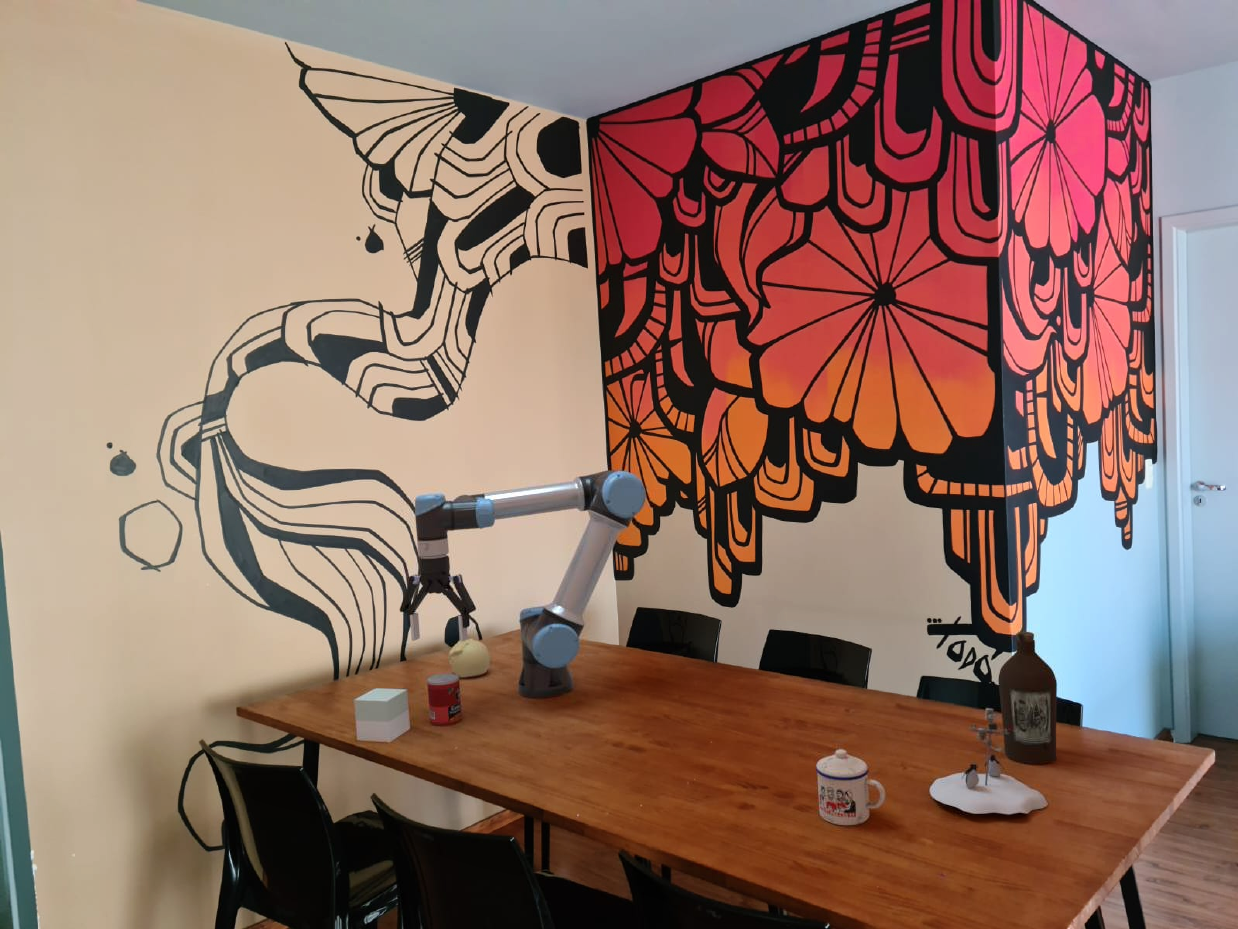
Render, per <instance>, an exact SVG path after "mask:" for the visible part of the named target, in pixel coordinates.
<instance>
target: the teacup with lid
mask: <svg viewBox="0 0 1238 929" xmlns="http://www.w3.org/2000/svg"><path fill="white" fill-rule="evenodd" d="M869 770H870V769H869V767H868V765H867V763H866V762H865V761H864V760H862V759H860V758H858V757H855V756H852V755H849V754H848V752H847V750H845V749H837V750H836V751H835V752H834V754H832V755H829V756H826V757H823V758H821V759H819V760H818V761H817V763H816V765H815V771H816V773H817V788H818V790H817V791H818V805H819V806H818V809H819V811H818V812H819V815H820V817H821V818H822V819H823V820H824V821H826V822H829V823H830V824H833V825H838V826H856V825H860V824H863V823H865V822H866V821H867V820H868V819H869V817H870V809H871V810H872V809H878V808H879V807H880V806H881V805H883V803H884V802H885V798H886V791H885V788H884V786H883V785H882V784H881V783H880V782H879V781H878V780H876V779H870V778H868V774H869ZM869 786H873V787H874V788H876V789H877V790H878V792H879V799H878V800H877V802H870V800H869V798H870V797H869Z"/></svg>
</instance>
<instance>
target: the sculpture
mask: <svg viewBox="0 0 1238 929" xmlns="http://www.w3.org/2000/svg"><path fill="white" fill-rule="evenodd" d="M447 657H448V661H449V663H448V664H449V665H450V666H451V670H452V672H453V674H455V675H458V676H459V678H468V677H469V678H470V677H475V676H480V675H483V674H485V673H486V672H487V671H488V670H489V666H490V662H491V656H490V651H489V650H488V647H487V646H486V645H485V644H484V643H483V642H480V641H478V640H475V639H473V638H468V639H467V640H465V641H463V642H460V639H459V640H458V641H457V643H455V644H454V646H453V647H452V648H451V649H450V650H449V652H448V656H447Z"/></svg>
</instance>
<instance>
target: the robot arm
mask: <svg viewBox="0 0 1238 929" xmlns="http://www.w3.org/2000/svg"><path fill="white" fill-rule="evenodd" d="M646 492H647V491H646V488H645V486H644V483H643V482H642V481H641V479H640V478H639V477H638V476H636V475H635V474H633V473H631V472H628V471H625V470H612V469H608V470H603V471H600V472H595V473H592V474H588V475H583V476H576V477H575V478H574V480H572V481H565V482H557V483H550V484H543V485H535V486H529V487H528V486H527V487H523V488H522V487H521V488H514V489H506V490H499V491H492V492H485V493H478V494H477V493H476V494H472V495H471V494H470V495H468V494H462V495H458V496H457V497H456V498H454V499H453V500H447V499H446V495H445V494H443V493H430V494H429V493H428V494H421V495H418V496H416V497H415V499H414V518H415V528H416V530H415V531H416V538H417V539H416V540H417V552H418V554H417V555H418V556H419V559H418V570H419V573H420V574H419V575H418V574H413V575H410V576H408V585H407V587H406V590H405V593H404V596H403V599H402V602H401V605H400V607H399V612H400V613H405V614H406V616H407V618H406V619H407V626H408V628H410V637H411V641H412V642H414V641H417V640H418V639H420V638H421V634H420V620H419V612H417V609H418V608H419V607H420V605H421V604H422V602H423V600H424V599H425V598H426V596H427V595H428V594H430V595H431V594H432V595H433V594H438V595H439V594H442V595H443V596H445V597H446V598H447V599H448V601H449V602H450V603H451V604H452V605H453V606H454V607H455V609H456V610H457V611H458V612H459V615H458V617H457V618H458V632H459V640H460V642H463V641H465V640H467V639H469V636H468V628H469V627H470V614H471V613H473V612H475V611H476V609H477V607H476V604H475V603H474V601H473V599H472V598H471V595H470V594H469V591H468V589H467V587H466V586H465V584H464V580H463V576H462V574H461V573H459V574H456V575H451V573H450V570H451V565H450V564H451V562H450V556H449V555H448V554H449V553H450V550H449V538H448V536H449V535H448V532H450V531H460V530H462V531H463V530H472V529H473V530H476V529H480V530H482V529H486V528H492V527H493V526H494V525H495V522H496V521H495V520H503V519H510V518H511V519H512V518H518V517H526V516H531V515H539V514H545V513H554V512H561V511H567V510H574V509H577V510H578V511H580V512H586V511H587V512H588V516H589V521H588V522H587V526H586V527H585V529H584V531H583V534H582V535H581V538H580V540H579V542H578V545H577V547H576V549H575V552H574V554H573V557H572V558H571V561H570V562H569V564H568V567H567V569H566V572H565V574H564V576H563V578H562V581H561V582H560V584H559V587H558V589H557V592H556V594H555V596H554V598H553V600H552V602H550V603H548V604H546V605H544V606H543V605H542V606H541V605H539V606H534V607H533V606H532V607H527V608H524V609H522V610H521V611H520V613H519V625H520V638H521V640H520V641H521V654H522V667H521V671H520V675H519V679H518V682H517V686H518V687H517V688H518V689H517V690H518V693H519V695H520V696H523V697H525V698H532V699H534V698H536V699H537V698H538V699H540V698H541V699H543V698H545V699H546V698H552V697H557V696H562V695H565V694H566V693H569V692H571V691H572V690H573V689H574V678H573V676H572V673H571V671H570V669H569V666H568V665H569V664H571V663H572V662H573V661H574V660H575V659H576V657H577V656H578V655H579V654H578V653H579V651H580V636H581V634H582V631H583V629H584V627H585V624H586V623H585V621H584V618H583V615H584V613H585V611H586V608H587V606H588V605H589V604H588V603H589V602H590V600H591V597H592V595H593V593H594V590H595V589H596V586H597V584H598V582H599V580H600V577H601V575H602V573H603V571H604V569H605V565H606V564H607V562H608V559H609V558H610V555H611V553H612V550H613V548H614V546H615V544H616V542H617V539H618V537H619V535H620V533H621V532H623V531H626V530H628V529H629V527H630V524H631V522H632V520H633V518H634V517H635V516H636V515H638V514H639V513H640V512H641V510H643V507H644V506H645V503H646V499H647V494H646ZM419 583H420V585H421V587H420V589H419V590H418V593H417V595H416V596H415V597H414V595H415V592H416V591H417V586H418V584H419ZM451 584H453V585H454V588H453V586H452V585H451ZM454 589H455V590H456V591H454ZM456 592H457V593H456ZM413 598H414V599H413Z"/></svg>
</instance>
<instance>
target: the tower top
mask: <svg viewBox="0 0 1238 929" xmlns="http://www.w3.org/2000/svg"><path fill="white" fill-rule="evenodd" d="M408 699H409V698H408V689H402V688H379V687H378V688H377V687H376V688H374V689H372V690H370V691H367V692H366V693H364V694H362V695H361V696H359V697H357V698H355V699H354V700H353V704H354V713H355V715H354V716H355V721H356V720H358V721H377V722H389V721H391V720H392V719H394V718H396V717H397V716H399V715H400V714H402V713H404V712H405V711H407V710H408V709H409V700H408Z"/></svg>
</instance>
